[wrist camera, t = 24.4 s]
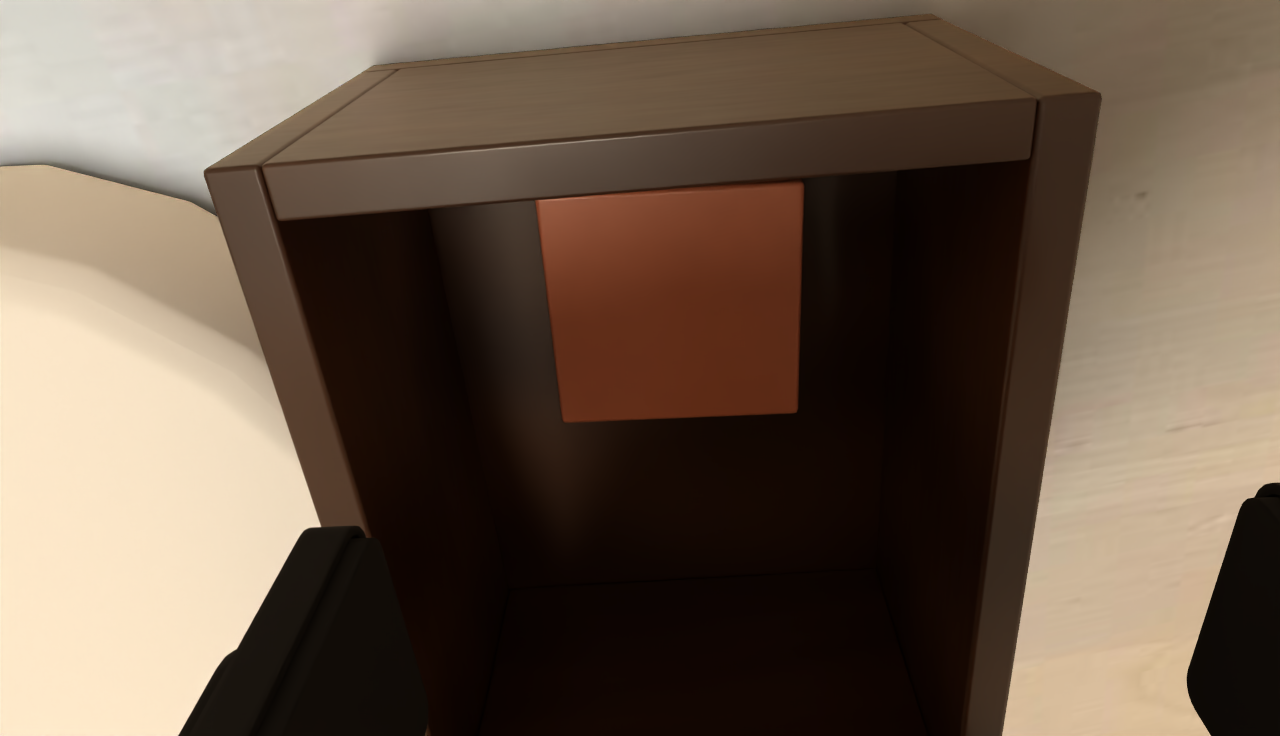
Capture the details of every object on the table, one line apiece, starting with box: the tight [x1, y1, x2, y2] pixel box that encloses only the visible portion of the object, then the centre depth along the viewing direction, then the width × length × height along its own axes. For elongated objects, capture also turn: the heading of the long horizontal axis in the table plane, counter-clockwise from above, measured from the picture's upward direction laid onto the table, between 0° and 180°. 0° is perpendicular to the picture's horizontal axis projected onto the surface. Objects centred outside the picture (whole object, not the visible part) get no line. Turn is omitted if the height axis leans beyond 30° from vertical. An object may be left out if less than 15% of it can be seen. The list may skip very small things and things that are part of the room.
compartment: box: [204, 14, 1102, 736], centre depth 18 cm, size 15×12×8 cm
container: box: [0, 165, 321, 736], centre depth 22 cm, size 20×20×5 cm
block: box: [535, 179, 804, 423], centre depth 17 cm, size 4×4×4 cm
